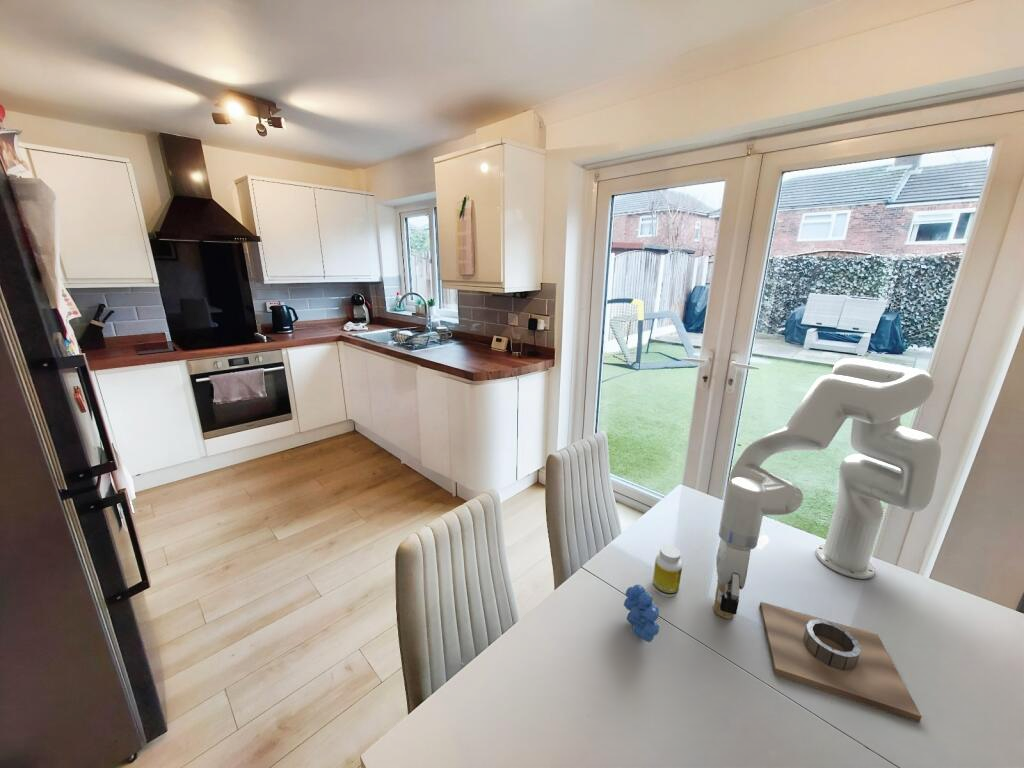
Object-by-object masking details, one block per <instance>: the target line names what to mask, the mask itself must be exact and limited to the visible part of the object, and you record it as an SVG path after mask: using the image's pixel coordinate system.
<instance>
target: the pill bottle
mask: <svg viewBox="0 0 1024 768" xmlns="http://www.w3.org/2000/svg"><path fill="white" fill-rule="evenodd" d="M682 569H683V562H682V560H681V551H680V550H679V549H678V548H677V547H675V546H673V545H670V544H665V545H664V544H663V545H661V546H660V549H659V553H657V555H656V557H655V561H654V568H653V575H652V576H653V577H652V587H653V589H654V591H655V592H656V593H658V594H659V595H660V596H663V597H666V598H667V597H668V598H673V597H675V596H677V595H678V593H679V591H680V582H681V578H682V576H681V575H682V571H683V570H682Z"/></svg>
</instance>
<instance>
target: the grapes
mask: <svg viewBox="0 0 1024 768" xmlns="http://www.w3.org/2000/svg"><path fill="white" fill-rule="evenodd" d="M624 594H625V596H626V598H625V600H624V602H623V606H624V607H625V608H626V609H627V610H628V611H629V612H628V613H627V615H626V621H627V622H628V623H629V624H630V625H633V629H632V632H633V634H634V635H636V636H637V638H641V639H642V640H643V641H645V642H646V643H650V642H651V643H652V641H653V640H654V637H655V636H657V635H658V634H659V631H660V625H659V624H658V623H657V622H656V621H657V620H658V618H659V615H660V610H659V609H660V608H659V607H658V606H657V605H656V604H654V603H653V601H654V597H653V596H652V595H651V594H650V593H649V592H647V591H646V589H645V588H644V587H643V586H642V585H640V584H634V585H633V586H630V587H629V586H628V588H627V589H626V591H625V593H624Z"/></svg>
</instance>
